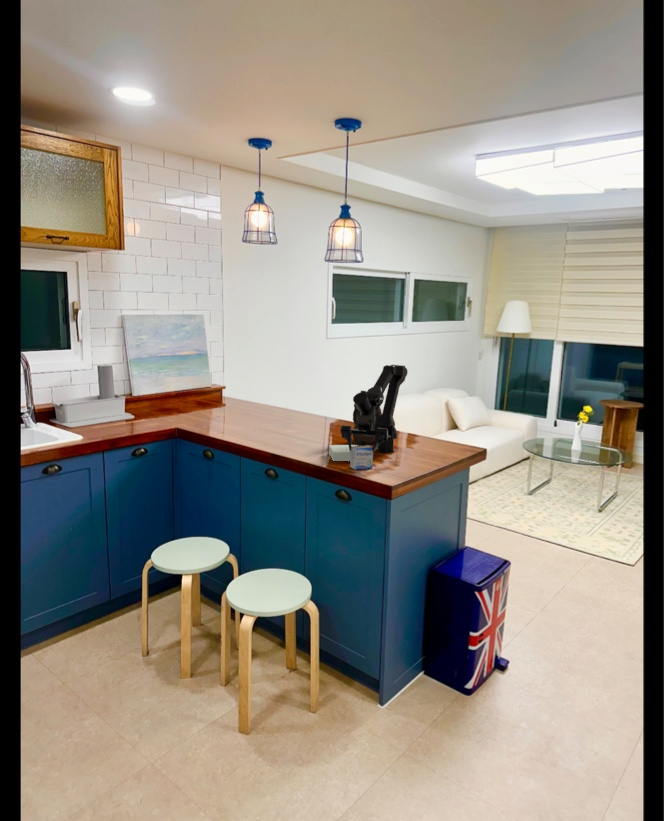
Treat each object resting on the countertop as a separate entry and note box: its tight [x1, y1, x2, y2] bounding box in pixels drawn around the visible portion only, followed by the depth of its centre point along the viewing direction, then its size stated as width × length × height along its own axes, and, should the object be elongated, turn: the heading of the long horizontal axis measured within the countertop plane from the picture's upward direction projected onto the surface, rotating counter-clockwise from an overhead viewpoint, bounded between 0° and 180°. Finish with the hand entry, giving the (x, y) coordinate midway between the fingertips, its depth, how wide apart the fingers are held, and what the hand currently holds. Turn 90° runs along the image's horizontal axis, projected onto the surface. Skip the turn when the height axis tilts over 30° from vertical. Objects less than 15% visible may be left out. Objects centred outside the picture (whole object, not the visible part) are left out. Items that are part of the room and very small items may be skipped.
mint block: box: [328, 444, 358, 463], centre depth 237 cm, size 12×12×4 cm
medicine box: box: [349, 445, 374, 471], centre depth 222 cm, size 8×4×9 cm, turn 113°
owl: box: [352, 403, 383, 446], centre depth 262 cm, size 13×13×20 cm
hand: (361, 451), depth 220 cm, fingers closed on medicine box, 9 cm apart
